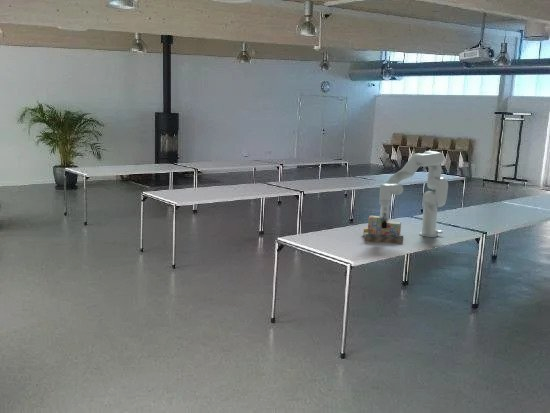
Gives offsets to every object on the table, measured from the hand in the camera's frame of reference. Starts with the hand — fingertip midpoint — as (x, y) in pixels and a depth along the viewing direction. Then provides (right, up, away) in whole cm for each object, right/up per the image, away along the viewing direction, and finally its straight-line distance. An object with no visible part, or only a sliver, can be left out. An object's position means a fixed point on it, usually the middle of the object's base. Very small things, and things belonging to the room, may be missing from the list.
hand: (383, 226), depth 369 cm
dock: (0, -9, +2) cm, 9 cm away
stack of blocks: (+1, -6, +1) cm, 6 cm away
